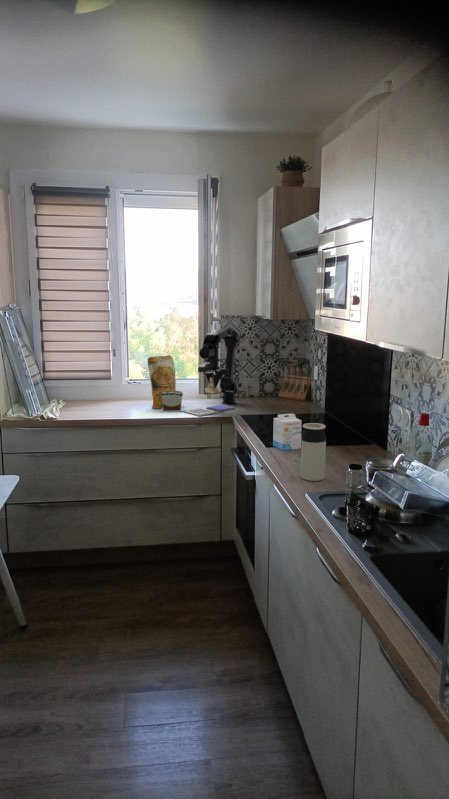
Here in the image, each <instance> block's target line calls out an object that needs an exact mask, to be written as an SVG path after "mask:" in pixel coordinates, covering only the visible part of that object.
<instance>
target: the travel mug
mask: <svg viewBox="0 0 449 799" xmlns="http://www.w3.org/2000/svg"><path fill="white" fill-rule="evenodd" d="M326 428H327V427H326V424H323V423H319V422H317V423H316V422H309V423H304V424H303V425H302V429H303V431H302V432H301V448H300V449H301V451H300V452H301V455H300V456H301V457H300V477H301V479H303V480H306V481H309V482H318V481H322V480H324V479H325V478H326V456H327V455H326V454H327V452H326V449H327V447H326V446H327V435H326V432H325V429H326Z"/></svg>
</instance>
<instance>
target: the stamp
mask: <svg viewBox="0 0 449 799" xmlns="http://www.w3.org/2000/svg"><path fill="white" fill-rule="evenodd" d="M204 393H205V394H207V395H212V396H213V395H219V394H222V393H221V388H220V387H218V386H217V387H214V377H210V386H209V387H205V388H204Z"/></svg>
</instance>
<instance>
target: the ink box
mask: <svg viewBox="0 0 449 799" xmlns="http://www.w3.org/2000/svg"><path fill="white" fill-rule="evenodd" d="M302 424H303V423H302V420H301V419H299V418H297V417H296V414H295V413H284V414H282V413H281V414H277V417H273V428H272V429H273V430H272V432H273V433H272V446H273V447H274V448H277V449H278V450H281V451H291V450H298V449H299V450H300V449H301V447H302Z"/></svg>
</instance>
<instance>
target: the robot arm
mask: <svg viewBox="0 0 449 799" xmlns="http://www.w3.org/2000/svg"><path fill="white" fill-rule="evenodd" d="M222 340H223V341H224V346H225V347H226V356H225V357H226V358H225V368H223V367H222V368H221V366H219V362H221V358H219V349H220V348H221V347H220V343H221V342H222ZM240 342H241V336H240V335H239V333H238V332H237V331H235V330H234V329H233V327H230V326H228V327H225V326H224V327H222V328H221V329H219V330H218V331H215V332H207V333H206V334H205V337H204V339H203V342H202V348H200V350H199V357H201V359H204V361H205V362H203V363H201V364H200V365H198V366H197V367H198V368H197V372H199V373H202V375H204V376H205V377H206V379H207V382H208V385H209V387H210V377H214V387H217V388H218V385H219V388H221V393H220V394H223V395H222V401H221V404H223V405H224V404H225V405H227V406H230V405H237V404H238V402H237V401H236V394H238V393H239V388H238V385H237V383H236V379H235V376H234V371H235V360H236V350H237V349H238V347H239V345H240ZM219 382H220V384H219Z"/></svg>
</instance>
